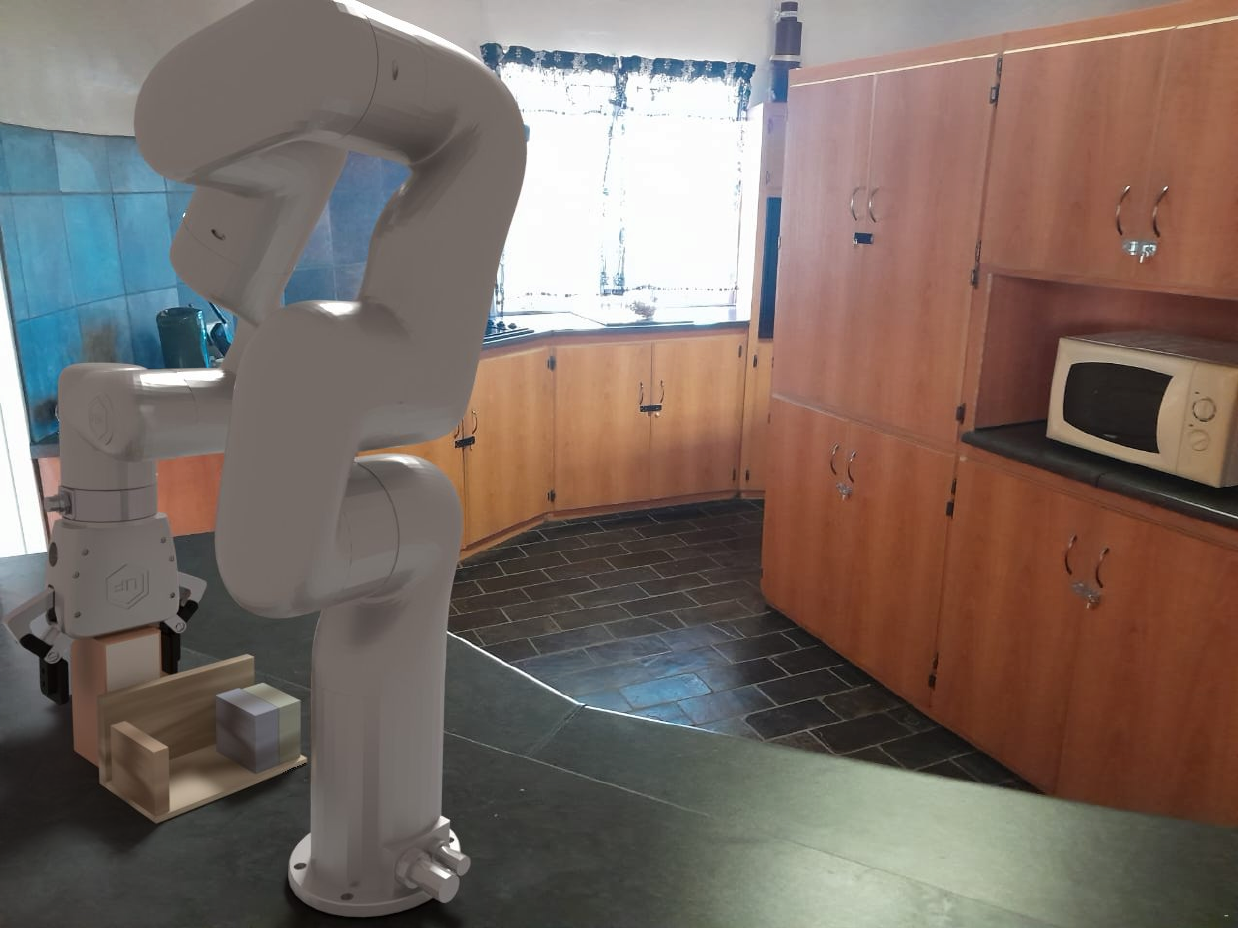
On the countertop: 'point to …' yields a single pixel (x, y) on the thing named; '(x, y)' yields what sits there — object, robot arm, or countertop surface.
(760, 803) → the countertop surface
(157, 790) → the shelf
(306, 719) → the countertop surface
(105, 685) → the tall pink rectangular prism
